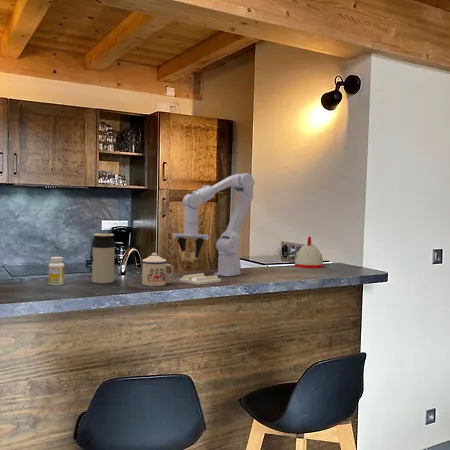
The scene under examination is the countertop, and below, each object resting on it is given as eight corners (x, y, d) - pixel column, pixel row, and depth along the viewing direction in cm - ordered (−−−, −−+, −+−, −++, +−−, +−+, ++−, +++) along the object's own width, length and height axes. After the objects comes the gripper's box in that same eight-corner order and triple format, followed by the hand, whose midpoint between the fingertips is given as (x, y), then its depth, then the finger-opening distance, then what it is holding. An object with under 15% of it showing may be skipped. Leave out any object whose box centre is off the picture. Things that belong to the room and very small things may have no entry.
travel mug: (116, 280, 187) (117, 233, 187) (109, 284, 180) (110, 235, 179) (96, 280, 188) (97, 233, 187) (88, 283, 180) (89, 234, 180)
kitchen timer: (292, 267, 241) (293, 236, 241) (296, 264, 255) (297, 235, 254) (321, 269, 237) (322, 238, 237) (324, 265, 250) (325, 236, 250)
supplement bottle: (59, 282, 181) (59, 256, 180) (67, 284, 177) (67, 257, 177) (45, 284, 177) (45, 257, 176) (53, 286, 173) (54, 258, 173)
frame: (187, 259, 206) (187, 249, 206) (198, 260, 205) (199, 250, 205) (181, 261, 198) (181, 251, 197) (193, 262, 197) (193, 252, 196)
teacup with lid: (146, 287, 175) (146, 254, 175) (138, 283, 183) (138, 252, 183) (177, 285, 181) (178, 253, 180) (168, 281, 189) (168, 251, 188)
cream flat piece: (200, 278, 199) (200, 272, 199) (221, 281, 192) (221, 275, 192) (179, 281, 190) (179, 275, 190) (199, 284, 183) (199, 278, 183)
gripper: (171, 223, 198) (170, 256, 199) (206, 224, 196) (205, 258, 196) (176, 222, 205) (175, 255, 206) (210, 223, 203) (209, 256, 203)
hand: (190, 256), depth 202 cm, fingers closed on frame, 5 cm apart
